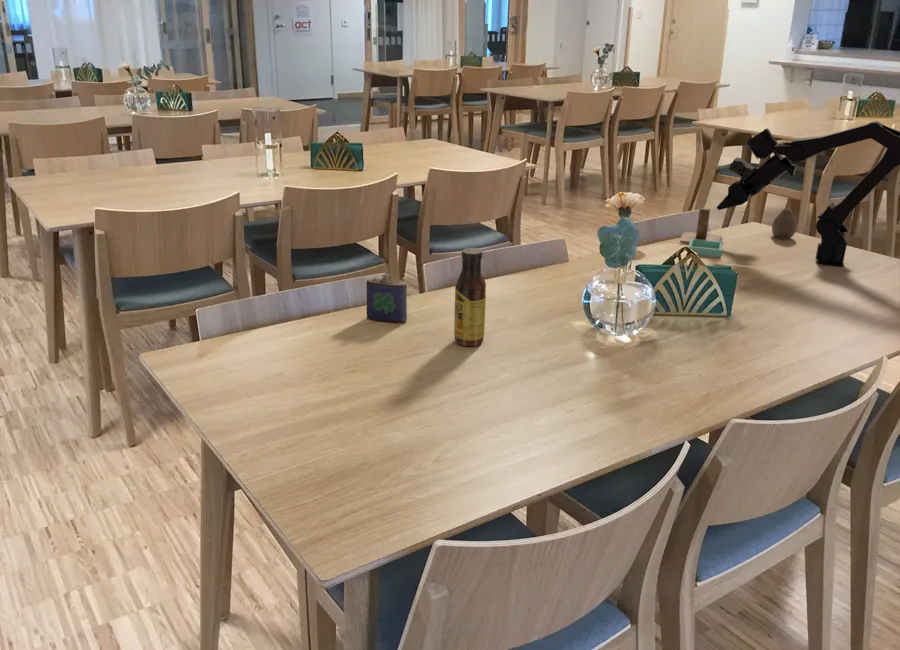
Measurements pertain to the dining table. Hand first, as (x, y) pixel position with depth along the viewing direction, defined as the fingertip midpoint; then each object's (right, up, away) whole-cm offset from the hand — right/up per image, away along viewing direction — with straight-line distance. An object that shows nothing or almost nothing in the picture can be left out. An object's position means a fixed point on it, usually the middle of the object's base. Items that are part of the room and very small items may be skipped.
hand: (722, 205), depth 234 cm
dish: (-6, -14, -4) cm, 16 cm away
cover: (-4, -9, +6) cm, 12 cm away
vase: (+22, -8, +12) cm, 27 cm away
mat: (-4, -10, +7) cm, 13 cm away
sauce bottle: (-75, -38, -67) cm, 108 cm away
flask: (-93, -34, -56) cm, 113 cm away
